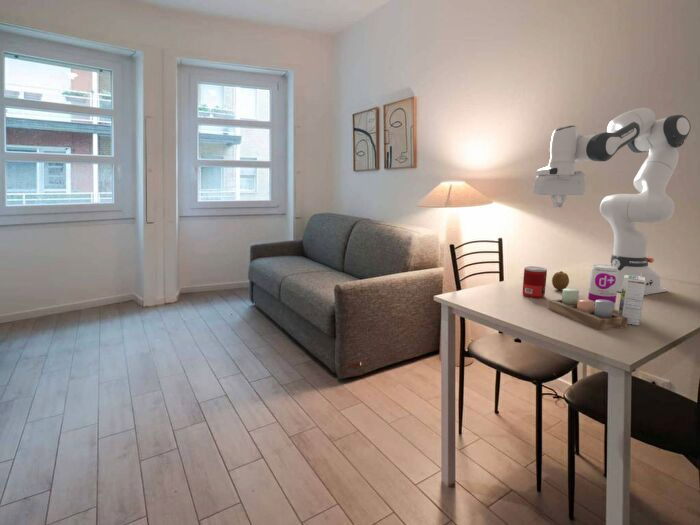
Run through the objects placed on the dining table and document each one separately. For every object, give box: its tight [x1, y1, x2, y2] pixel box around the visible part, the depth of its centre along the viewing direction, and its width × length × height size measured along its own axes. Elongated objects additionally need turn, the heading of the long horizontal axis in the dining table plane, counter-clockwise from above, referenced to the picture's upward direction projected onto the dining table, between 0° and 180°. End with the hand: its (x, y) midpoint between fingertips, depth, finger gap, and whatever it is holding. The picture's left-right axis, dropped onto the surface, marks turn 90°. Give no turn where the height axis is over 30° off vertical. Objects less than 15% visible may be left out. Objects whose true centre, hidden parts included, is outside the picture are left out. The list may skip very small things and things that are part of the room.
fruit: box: [551, 270, 570, 291], centre depth 166 cm, size 6×6×8 cm
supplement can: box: [587, 264, 619, 310], centre depth 140 cm, size 8×8×15 cm
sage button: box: [561, 288, 580, 306], centre depth 138 cm, size 5×5×5 cm
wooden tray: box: [547, 298, 628, 331], centre depth 132 cm, size 10×22×3 cm, turn 12°
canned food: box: [522, 265, 548, 299], centre depth 157 cm, size 8×8×11 cm
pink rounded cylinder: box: [577, 298, 595, 312], centre depth 132 cm, size 5×5×5 cm
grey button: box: [594, 299, 614, 319], centre depth 125 cm, size 5×5×5 cm
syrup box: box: [617, 275, 646, 326], centre depth 126 cm, size 6×6×14 cm
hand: (557, 207), depth 156 cm, fingers closed
